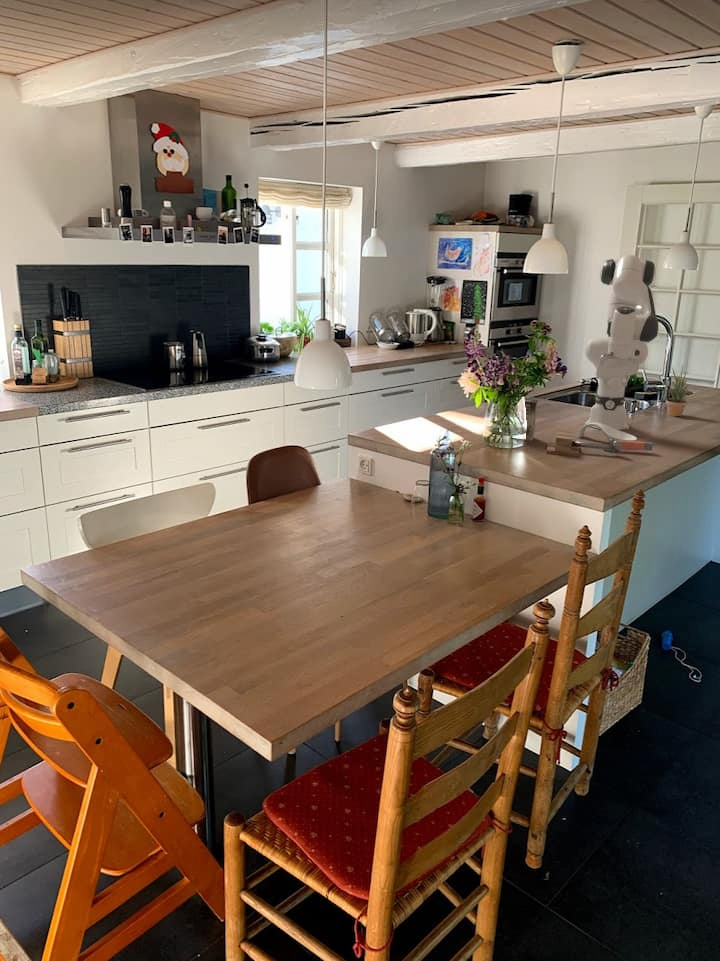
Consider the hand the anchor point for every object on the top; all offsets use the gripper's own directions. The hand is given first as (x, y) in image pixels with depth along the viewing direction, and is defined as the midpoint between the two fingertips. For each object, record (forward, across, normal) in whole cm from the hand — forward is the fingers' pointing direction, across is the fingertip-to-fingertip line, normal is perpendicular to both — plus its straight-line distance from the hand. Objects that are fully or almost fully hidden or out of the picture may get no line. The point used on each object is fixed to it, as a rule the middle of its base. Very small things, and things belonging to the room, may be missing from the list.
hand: (615, 387), depth 289 cm
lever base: (+25, +1, -1) cm, 25 cm away
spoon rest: (+26, +10, +9) cm, 29 cm away
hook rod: (+23, -11, 0) cm, 25 cm away
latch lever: (+24, +7, -7) cm, 26 cm away
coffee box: (+25, -18, +29) cm, 43 cm away
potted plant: (+28, +82, +29) cm, 92 cm away
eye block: (+24, -17, +7) cm, 31 cm away
